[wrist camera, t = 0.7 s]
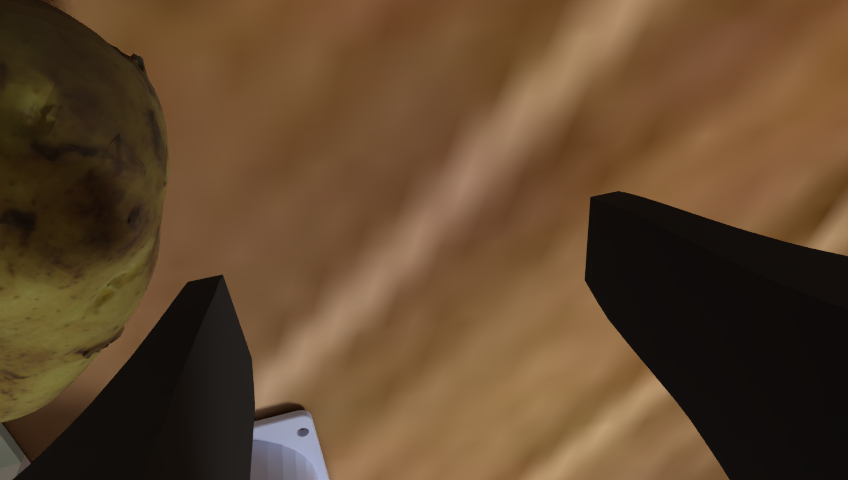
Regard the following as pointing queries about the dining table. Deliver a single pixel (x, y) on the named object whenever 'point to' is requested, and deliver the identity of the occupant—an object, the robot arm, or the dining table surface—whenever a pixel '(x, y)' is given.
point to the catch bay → (10, 456)
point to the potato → (71, 198)
